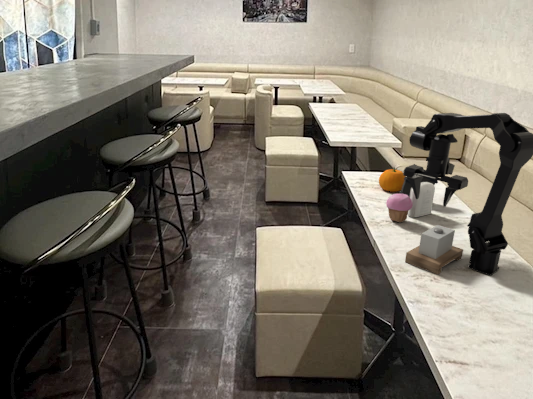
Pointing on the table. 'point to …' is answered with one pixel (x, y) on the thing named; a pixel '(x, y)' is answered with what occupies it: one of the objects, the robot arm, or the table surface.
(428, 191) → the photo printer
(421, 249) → the block
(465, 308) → the table surface
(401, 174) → the fruit
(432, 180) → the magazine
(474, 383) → the table surface
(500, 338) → the table surface
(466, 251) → the table surface
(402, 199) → the cupcake
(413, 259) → the walnut stand
